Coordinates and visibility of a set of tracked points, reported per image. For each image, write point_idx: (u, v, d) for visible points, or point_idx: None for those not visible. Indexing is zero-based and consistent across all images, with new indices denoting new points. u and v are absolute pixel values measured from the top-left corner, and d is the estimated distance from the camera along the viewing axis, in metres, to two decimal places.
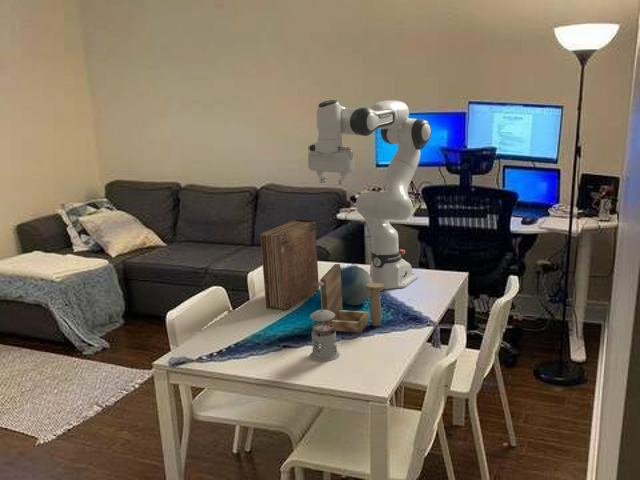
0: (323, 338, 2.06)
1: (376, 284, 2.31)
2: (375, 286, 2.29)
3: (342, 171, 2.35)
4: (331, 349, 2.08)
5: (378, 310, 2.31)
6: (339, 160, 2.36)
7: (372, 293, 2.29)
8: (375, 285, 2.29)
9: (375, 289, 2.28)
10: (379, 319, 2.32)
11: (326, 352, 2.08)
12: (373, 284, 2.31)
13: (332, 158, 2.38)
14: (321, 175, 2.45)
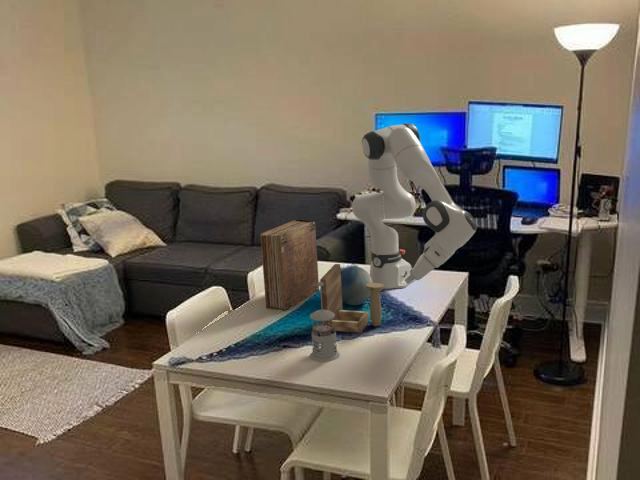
0: (323, 338, 2.06)
1: (376, 284, 2.31)
2: (375, 286, 2.29)
3: None
4: (331, 349, 2.08)
5: (378, 310, 2.31)
6: None
7: (372, 293, 2.29)
8: (375, 285, 2.29)
9: (375, 289, 2.28)
10: (379, 319, 2.32)
11: (326, 352, 2.08)
12: (373, 284, 2.31)
13: None
14: None
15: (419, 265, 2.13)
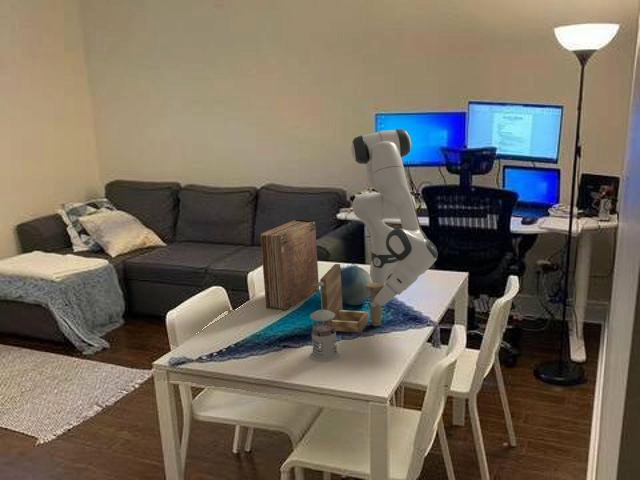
0: (323, 338, 2.06)
1: (376, 284, 2.31)
2: (375, 286, 2.29)
3: None
4: (331, 349, 2.08)
5: (378, 310, 2.31)
6: None
7: (372, 293, 2.29)
8: (375, 285, 2.29)
9: (375, 289, 2.28)
10: (379, 319, 2.32)
11: (326, 352, 2.08)
12: (373, 284, 2.31)
13: None
14: None
15: (381, 292, 2.19)
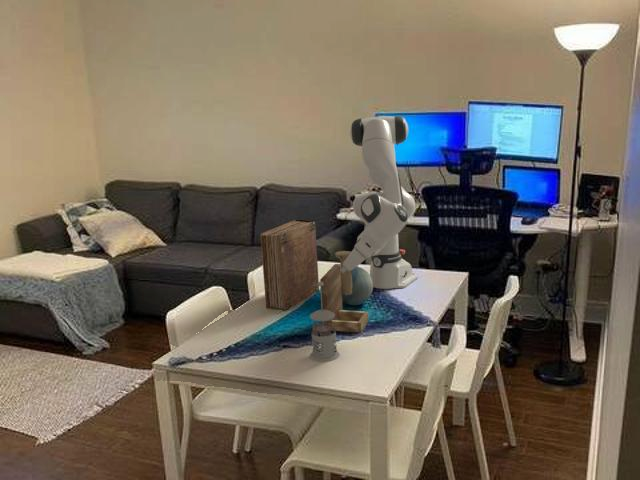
0: (323, 338, 2.06)
1: (346, 252, 2.29)
2: (344, 254, 2.27)
3: None
4: (331, 349, 2.08)
5: (349, 278, 2.29)
6: None
7: (342, 261, 2.28)
8: (344, 253, 2.27)
9: (344, 256, 2.26)
10: (350, 287, 2.30)
11: (326, 352, 2.08)
12: (343, 252, 2.29)
13: None
14: None
15: (350, 256, 2.17)
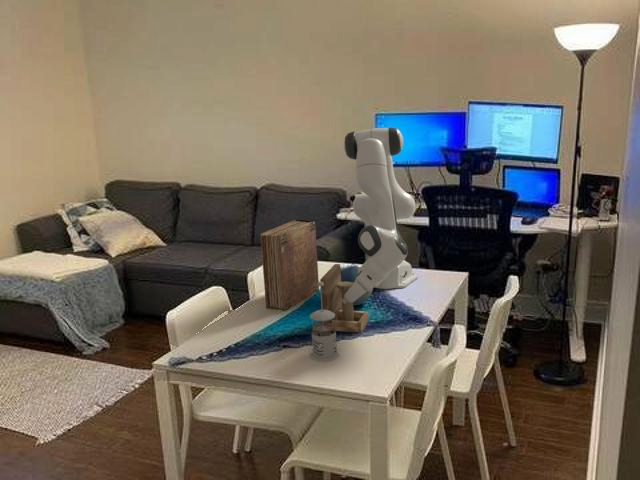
0: (323, 338, 2.06)
1: (347, 283, 2.32)
2: (346, 285, 2.30)
3: None
4: (331, 349, 2.08)
5: (350, 309, 2.32)
6: None
7: (343, 292, 2.31)
8: (346, 284, 2.30)
9: (345, 287, 2.29)
10: (351, 318, 2.33)
11: (326, 352, 2.08)
12: (344, 283, 2.32)
13: None
14: None
15: (351, 289, 2.20)
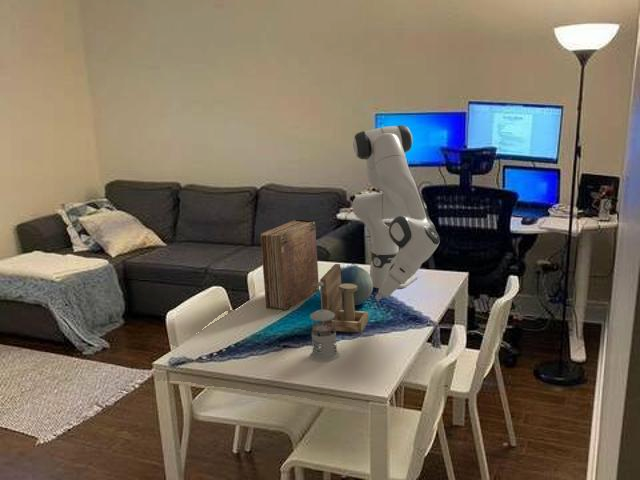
0: (323, 338, 2.06)
1: (350, 285, 2.31)
2: (348, 287, 2.29)
3: None
4: (331, 349, 2.08)
5: (352, 311, 2.31)
6: None
7: (345, 294, 2.30)
8: (348, 286, 2.30)
9: (348, 290, 2.28)
10: (352, 320, 2.33)
11: (326, 352, 2.08)
12: (347, 285, 2.31)
13: None
14: None
15: (385, 283, 2.16)
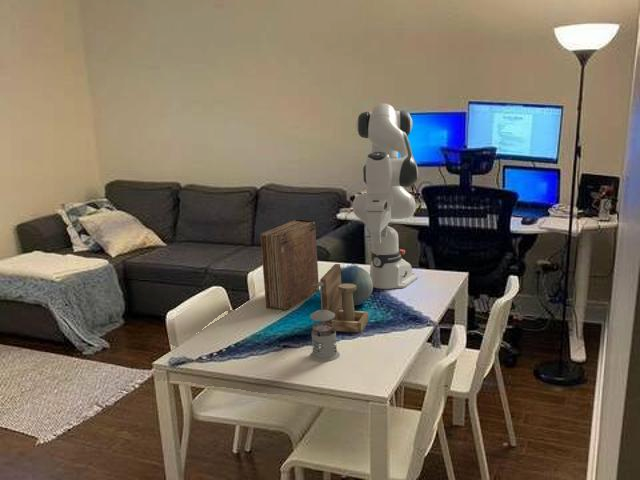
0: (323, 338, 2.06)
1: (349, 285, 2.31)
2: (347, 287, 2.29)
3: (389, 220, 2.30)
4: (331, 349, 2.08)
5: (351, 311, 2.31)
6: (387, 211, 2.28)
7: (345, 294, 2.30)
8: (347, 286, 2.30)
9: (347, 289, 2.28)
10: (352, 320, 2.33)
11: (326, 352, 2.08)
12: (346, 285, 2.32)
13: (385, 211, 2.25)
14: None
15: (369, 220, 2.15)
